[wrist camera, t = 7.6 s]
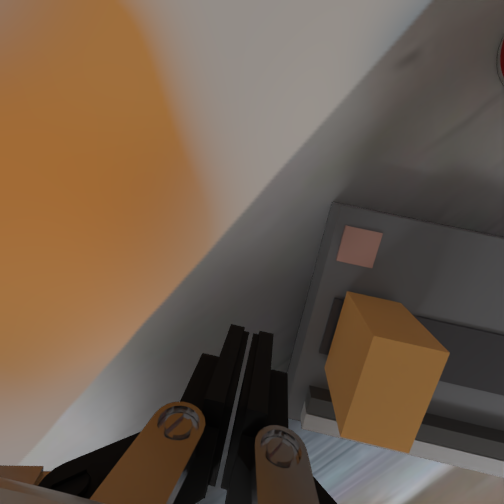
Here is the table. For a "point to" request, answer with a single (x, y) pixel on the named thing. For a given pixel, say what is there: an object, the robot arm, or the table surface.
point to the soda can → (501, 61)
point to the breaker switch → (382, 372)
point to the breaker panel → (427, 313)
